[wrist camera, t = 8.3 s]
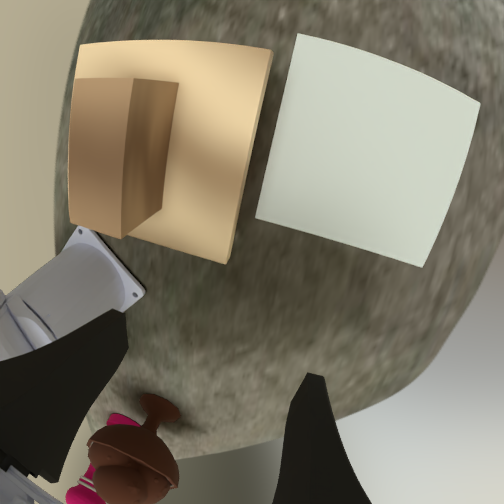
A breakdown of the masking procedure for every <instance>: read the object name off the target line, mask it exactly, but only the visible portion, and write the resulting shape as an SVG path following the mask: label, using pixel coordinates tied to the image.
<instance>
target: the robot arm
mask: <svg viewBox="0 0 504 504" xmlns="http://www.w3.org/2000/svg"><path fill="white" fill-rule="evenodd" d="M81 230H82V231H81ZM136 293H137V294H136ZM144 294H145V289H144V288H143V287H142V286H141V284H140V283H139V282H138V281H137V280H136V279H135V278H134V277H133V276H132V275H131V273H130V272H129V271H128V270H127V269H126V268H125V267H124V266H123V264H122V263H121V262H120V261H119V260H118V259H117V258H116V256H115V255H114V254H113V253H112V252H111V251H110V249H109V248H108V247H107V246H106V245H105V244H104V242H103V241H102V240H101V239H100V238H99V236H98V235H97V234H96V233H95V231H94V230H91V229H88V228H85V227H82V226H79V225H78V227H77V228H76V230H75V231H74V233H73V234H72V236H71V237H70V239H69V240H68V242H67V243H66V245H65V246H64V248H63V250H62V251H61V253H60V254H59V255H57V256H56V257H54V258H53V259H52V260H50V261H49V262H48V263H46V264H45V265H44V266H43V267H41V268H40V269H39V270H37V271H36V272H35V273H34V274H32V275H31V276H30V277H28V278H27V279H26V280H25V281H23V282H22V283H21V284H19V285H18V286H17V287H16V288H15V289H13V290H12V291H11V292H10V293H9V294H7V295H4V293H3V292H2V290H1V289H0V504H34V500H35V501H37V502H38V503H39V504H63V503H62V502H60V501H59V500H57V499H56V498H54V497H53V496H51V495H50V494H48V493H47V492H46V491H44V490H42V489H41V488H40V487H39V486H37V485H36V484H35V483H33V482H32V481H31V480H29V479H28V478H27V476H28V475H29V474H31V475H32V476H33V477H35V478H37V476H38V475H40V476H41V477H43V478H44V479H45V480H47V481H48V482H50V483H56V482H58V481H59V477H60V474H61V471H62V468H63V465H64V462H65V460H66V457H67V454H68V452H69V449H70V447H71V444H72V442H73V440H74V438H75V436H76V433H77V431H78V429H79V427H80V425H81V423H82V421H83V420H84V417H85V416H86V414H87V412H88V410H89V409H90V407H91V406H92V404H93V403H94V401H95V400H96V399H97V397H98V396H99V394H100V393H101V391H102V390H103V389H104V387H105V386H106V384H107V383H108V382H109V380H110V379H111V377H112V376H113V374H114V373H115V372H116V370H117V369H118V367H119V365H120V363H121V362H122V360H123V358H124V356H125V354H126V352H127V350H128V348H129V347H128V338H127V329H126V318H125V313H123V312H124V311H125V310H127V309H128V308H129V307H130V306H131V305H133V304H134V303H135V302H136V301H138V300H139V299H140V298H141V297H143V296H144ZM272 504H372V503H371V502H370V500H369V498H368V497H367V495H366V493H365V491H364V490H363V488H362V486H361V485H360V482H359V481H358V479H357V477H356V475H355V473H354V470H353V468H352V466H351V464H350V462H349V459H348V457H347V454H346V452H345V449H344V447H343V444H342V441H341V438H340V435H339V432H338V429H337V426H336V422H335V419H334V416H333V412H332V408H331V405H330V401H329V397H328V392H327V388H326V383H325V379H324V377H323V376H320V375H315V374H311V373H307V374H306V376H305V378H304V380H303V382H302V383H301V385H300V387H299V389H298V391H297V392H296V394H295V396H294V398H293V399H292V401H291V404H290V408H289V412H288V417H287V421H286V426H285V434H284V442H283V451H282V459H281V467H280V474H279V479H278V484H277V488H276V492H275V496H274V499H273V503H272Z"/></svg>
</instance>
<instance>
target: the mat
mask: <svg viewBox="0 0 504 504" xmlns="http://www.w3.org/2000/svg"><path fill="white" fill-rule="evenodd" d="M479 107H480V103H479V102H477V101H475V100H474V99H472V98H470V97H468V96H467V95H465V94H463V93H461V92H459V91H457V90H456V89H454V88H452V87H450V86H448V85H446V84H444V83H442V82H440V81H438V80H436V79H434V78H431V77H429V76H427V75H425V74H423V73H420V72H418V71H416V70H414V69H411V68H409V67H406V66H404V65H401V64H399V63H396V62H394V61H391V60H389V59H386V58H383V57H380V56H377V55H375V54H372V53H369V52H366V51H363V50H360V49H356V48H353V47H350V46H346V45H343V44H339V43H336V42H332V41H328V40H324V39H320V38H316V37H312V36H307V35H303V34H297V38H296V43H295V47H294V51H293V55H292V60H291V64H290V68H289V73H288V77H287V81H286V85H285V90H284V94H283V98H282V103H281V107H280V111H279V116H278V120H277V124H276V128H275V133H274V137H273V141H272V146H271V150H270V154H269V159H268V163H267V168H266V172H265V176H264V181H263V185H262V189H261V194H260V198H259V203H258V207H257V211H256V216H255V218H257V219H261V220H264V221H268V222H272V223H275V224H279V225H282V226H286V227H290V228H293V229H297V230H300V231H304V232H307V233H311V234H314V235H318V236H321V237H324V238H328V239H331V240H335V241H338V242H341V243H345V244H348V245H351V246H355V247H358V248H361V249H365V250H368V251H371V252H374V253H378V254H381V255H384V256H387V257H390V258H394V259H397V260H400V261H403V262H406V263H409V264H412V265H416V266H419V267H423V265H424V263H425V261H426V259H427V257H428V255H429V252H430V250H431V248H432V246H433V244H434V241H435V239H436V237H437V235H438V232H439V230H440V228H441V225H442V223H443V220H444V218H445V216H446V213H447V211H448V208H449V205H450V203H451V200H452V198H453V195H454V192H455V189H456V187H457V184H458V181H459V178H460V175H461V172H462V169H463V166H464V163H465V160H466V156H467V153H468V150H469V146H470V143H471V139H472V136H473V132H474V128H475V124H476V120H477V116H478V112H479Z"/></svg>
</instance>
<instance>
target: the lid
mask: <svg viewBox="0 0 504 504" xmlns="http://www.w3.org/2000/svg"><path fill="white" fill-rule="evenodd" d="M273 55H274V53H273V52H272V50H268V49H263V48H256V47H250V46H242V45H234V44H225V43H215V42H203V41H185V40H131V41H114V42H102V43H92V44H84V45H80V49H79V54H78V60H77V66H76V72H75V79H74V86H73V94H72V103H71V114H70V127H69V146H68V201H69V216H70V223H73V224H76V225H79V226H82V227H85V228H88V229H91V230H94V231H97V232H100V233H103V234H106V235H109V236H112V237H115V238H118V239H122V238H123V237H125V236H126V235H130V236H133V237H136V238H139V239H142V240H146V241H149V242H152V243H156V244H159V245H162V246H165V247H169V248H172V249H175V250H179V251H182V252H185V253H189V254H192V255H195V256H199V257H202V258H205V259H209V260H212V261H216V262H219V263H222V264H226V263H227V262H228V260H229V258H230V255H231V250H232V245H233V240H234V235H235V230H236V225H237V220H238V215H239V210H240V205H241V200H242V195H243V191H244V186H245V181H246V176H247V172H248V167H249V162H250V157H251V153H252V148H253V143H254V139H255V134H256V130H257V125H258V121H259V116H260V112H261V107H262V103H263V98H264V94H265V89H266V85H267V81H268V76H269V72H270V68H271V63H272V59H273Z"/></svg>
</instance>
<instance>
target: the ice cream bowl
mask: <svg viewBox="0 0 504 504" xmlns="http://www.w3.org/2000/svg"><path fill="white" fill-rule="evenodd" d="M139 402H140V404H141V406H142V408H143V410H144V411H145V412H146V413H147V415H148V416H147V418H146V420H145V422H144V424H143V425H142V426H140V427H139V426H134V425H128V424H115V425H108V426H105V427H103V428H101V429H99V430H98V431H96V432H95V434H94V435H93V436H92V437H91V438H90V439H89V440H88V443H87V446H88V447H89V452H88V457H89V459H90V462H91V464H92V466H93V467H94V468H95V469H96V470H95V472H94V473H93V478H92V480H93V485H94V488H95V490H96V493H97V494H98V495H99V496H100V497H101V498H102V499H103V500H104V501H105V502H107V503H109V504H154V503H156V502H158V501H159V500H161V499H163V498H164V497H165V496H166V494H167V493H168V491H169V489H174V488H178V482H179V470H178V465H177V463H176V461H175V459H174V457H173V455H172V454H171V452H170V450H169V449H168V447H167V446H166V444H165V443H164V442H163V440H162V439H160V438H159V437H158V436H157V428H158V426H159V425H160V423H161V422H175V421H176V420H177V419H178V418H179V417H180V416H181V415H180V412H179V410H178V408H177V407H175V406H174V405H173V404H172V403H170V402H169V401H168V400H166V399H164V398H161V397H159V396H157V395H154V394H143V395H142V396H141V398H140V401H139Z"/></svg>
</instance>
